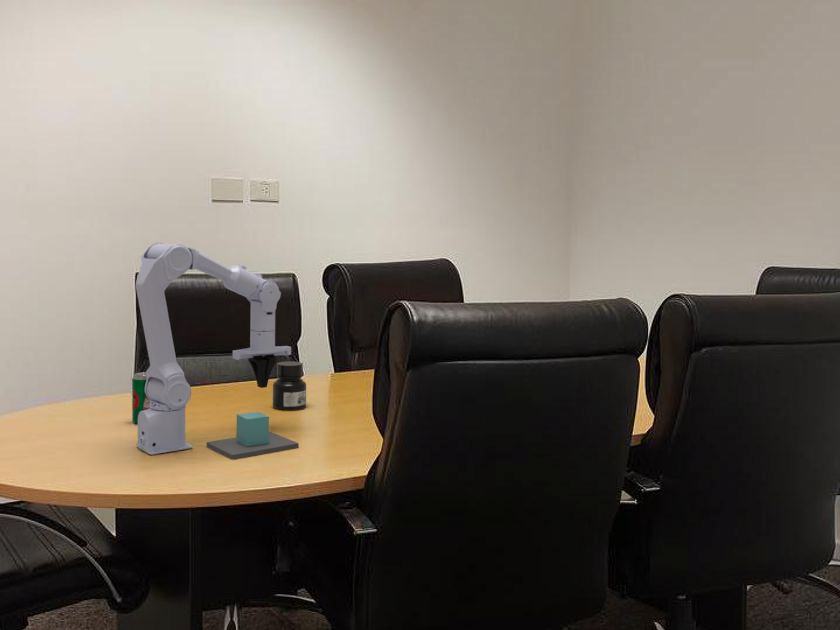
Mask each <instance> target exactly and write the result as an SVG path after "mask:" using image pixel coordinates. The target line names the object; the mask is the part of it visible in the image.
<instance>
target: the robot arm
mask: <svg viewBox="0 0 840 630" xmlns="http://www.w3.org/2000/svg"><path fill="white" fill-rule="evenodd" d="M140 258H141V264H140V268H139V271H138V275H137V278H136V281H135V289H136V295H137V300H138V301H137V302H138V307H139V310H140V317H141V322H142V327H143V328H142V329H143V333H144V337H145V342H146V343H145V344H146V350H147V354H148V355H147V356H148V359H149V365H150V366H148V368H147V370H146V371H145V372H146V377H147V380H146V384H145V394H146V396H147V397H148V398H149V399H150V408H149V409H147V410H143V411H140V412H139V415H138V424H137V444H136V447H137V448H139V449H140V450H141V451H144V452H145V453H146V454H149V455H151V456H153V455H157V454H158V455H159V454H163V453H164V454H165V453H170V452H176V451H183V450H188V449H189V450H190V449H193V448H194V445H192V444H190V443H188V442H186V409H187V408H186V407H187V406H186V405H187V404H188V403H189V402H190V400H191V398H192V388H191V385H190V384H189V383H188V381H187V379H186V377H185V372H184V370H183V369H182V368H181V367H180V365H179V364H178V362H177V357H176V355H177V354H176V352H175V345H174V341H173V340H174V339H173V335H172V328H171V322H170V318H169V312H168V305H167V300H166V295H165V291H166V289H167V288H168V287H169V285H170V284H171V283H172V282H173V281H174V280H176V279H177V278H179V277H181V276H182V275H184V274H185V273H186V272H188V271H189V270H190V271H193V270H194V271H195V270H197V271H199V272H201V273H203V274H207V275H209V276H211V277H213V278H215V279H218V280H221V281H222V283H223V287H224V288H225V289H226V290H230V291H231V292H234V293H236V294H237V295H241V296H243V297H245V298H246V299H247V301H248V302H249V303H250V330H249V331H250V337H249V341H250V343H249V345H250V346H249V347H246V348H241V349H235V350H232V359H233V360H236V361H237V360H243V359H248V360H247V361H248V362H249V365H250V366H251V368H252V371H253V373H254V376H255V380H256V385H257V387H258V388H261V389H264V388H267V387H268V383H269V379H270V376H271V374H272V371H273V369H274V367H275V365H277V363H278V362H277V359H278V358H277V357H276V356H290V355H292V346H288V345H282V346H281V345H280V346H278V345H277V346H276V310H277V304H278V302H279V300H281V295H282V292H281V291H280V288H279V287H278V284H277V283H276V282H275V281H274V280H271V279H263V275H262V274H260V273H253V272H252V271H249V270H247V266H245V265H243V264H237V265H236V264H235V265H231V266H229V267H228V266H227V265H225V264H223V263H222V262H220V261H218V260H216V259H214V258H213V257H210V256H209V255H206V254H205V253H204V252H201V251H199V250H197V249H195V248H192V247H188V246H186V245H184V244H182V243H174V244H173V243H164V242H154V243H152V244H150V245H149V246H148V247H147V248H146V249H145V251H143V253H142V254H141V255H140Z"/></svg>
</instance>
